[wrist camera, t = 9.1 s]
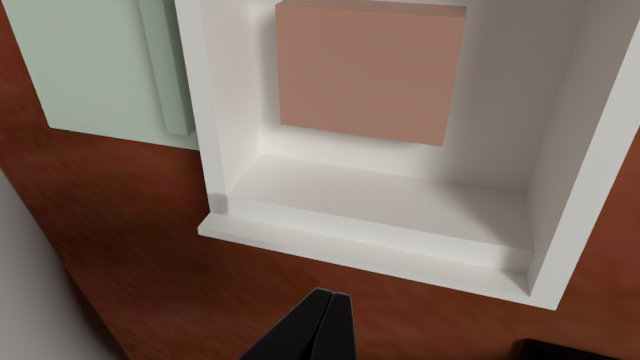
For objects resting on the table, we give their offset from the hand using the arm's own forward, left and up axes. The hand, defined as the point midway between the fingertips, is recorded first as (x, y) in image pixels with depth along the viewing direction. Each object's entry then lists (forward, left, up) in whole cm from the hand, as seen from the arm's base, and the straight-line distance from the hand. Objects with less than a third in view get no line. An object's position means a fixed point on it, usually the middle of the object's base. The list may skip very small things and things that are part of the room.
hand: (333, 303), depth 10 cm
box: (+2, 0, -12) cm, 13 cm away
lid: (+2, +15, -13) cm, 20 cm away
